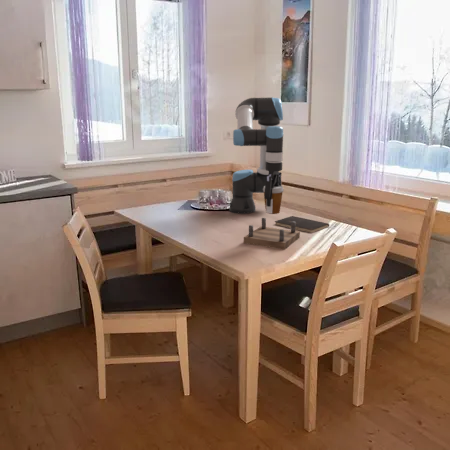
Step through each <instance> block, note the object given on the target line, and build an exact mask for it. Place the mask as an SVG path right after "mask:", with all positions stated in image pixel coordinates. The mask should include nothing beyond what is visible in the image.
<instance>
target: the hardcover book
mask: <svg viewBox="0 0 450 450" xmlns="http://www.w3.org/2000/svg"><path fill="white" fill-rule="evenodd" d="M292 221H294V222H296V224H295V230H296V231H300V232H301V231H302V232H307V233H310V234H312V233H315V232H318V231H320V230H324V229H326V228H329V227H330V223H327V222H325V221H324V222H323V221H318V220H313V219H308V218H304V217H300V216H294V215H291V216H287V217H284V218H281V219H277V220H275V221H274V223H275V225H276V226H281V227H284V228H288V229H291V222H292Z"/></svg>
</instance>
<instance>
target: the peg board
mask: <svg viewBox="0 0 450 450" xmlns="http://www.w3.org/2000/svg"><path fill="white" fill-rule="evenodd" d="M295 224H296V222H294V221H292V222H291V228H290V230H289V229H284V228H276V227H275V228H274V227H268V226H267V218H266V217H262V218H261V226H259V227H257V228H256V229H255V230H254V225H253V224H251V225H250V224H249V225H248V234H246V235H244V236H243V244H246V245H253V246H257V247H264V248H265V247H266V248H273V249H278V250H279V249H280V250H286V249H288V247H290V246H291V245H292V244H294V243H296V241H297V240H298V239H300V238H301V237H300V236H301V235H300V234H301V231H300V230H296V229H295Z"/></svg>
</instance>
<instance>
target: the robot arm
mask: <svg viewBox="0 0 450 450" xmlns="http://www.w3.org/2000/svg"><path fill="white" fill-rule="evenodd" d="M282 105H283V103H282V100H281V98H279V97H273V96H272V97H249V98H246V99H244V100H243V101H241V102H240V103H239V104H238V105H237V106H236V108H235V112H234V113H235V117H236V120H237V122H236V123H237V128H236V129H234V130H233V134H232V137H233V139H232V141H233V142H232V143H233V145H234V146H235V147H237V146H238V147H251V146H252V147H260V148H259V151H260V152H259V167H258V168H257V169H256V171H255V172H254V170H253V169H239V170H237V171H235V172H233V173H232V181H231V182H232V198H231V200H230V204H229V208H228V209H229V212H231V213H233V214H251V213H255V212H256V210H257V209H256V203H255V201H254V196H253V194H263V197H264V198H263V199H264V200H265V199H266V209H265V214H268V213H271V214H270V215H273V214H272V205H273V199H272V189H273V188H274V186H276V187H279V186H282V187H283V185H282V172H281V171H282V170H283V162H282V161H283V160H284V159H283V154H284V150H283V147H284V146H283V145H284V128H283V126H279V125H280V124H281V121H283V119H284V118H283V117H284V114H283V106H282ZM253 121H257V123H258V125H259V126H260V128H259V129H258V128H257V129H256V128H255V129H254V124H253V123H254V122H253ZM264 186H265V194H264V192H263V188H264Z"/></svg>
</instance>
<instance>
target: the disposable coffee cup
mask: <svg viewBox="0 0 450 450" xmlns="http://www.w3.org/2000/svg"><path fill="white" fill-rule="evenodd" d="M263 192H264V193H263V195H264V194H265V186H264V188H263ZM283 193H284V186H283V185H282V186H279V187H276V186H274V188H273V189H272V199H273V205H272V214H271V213H267V214H269V215H278V214H279V213H280V211H281V206H282V198H283ZM264 206H265V209H264V210H266V199H264Z"/></svg>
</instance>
